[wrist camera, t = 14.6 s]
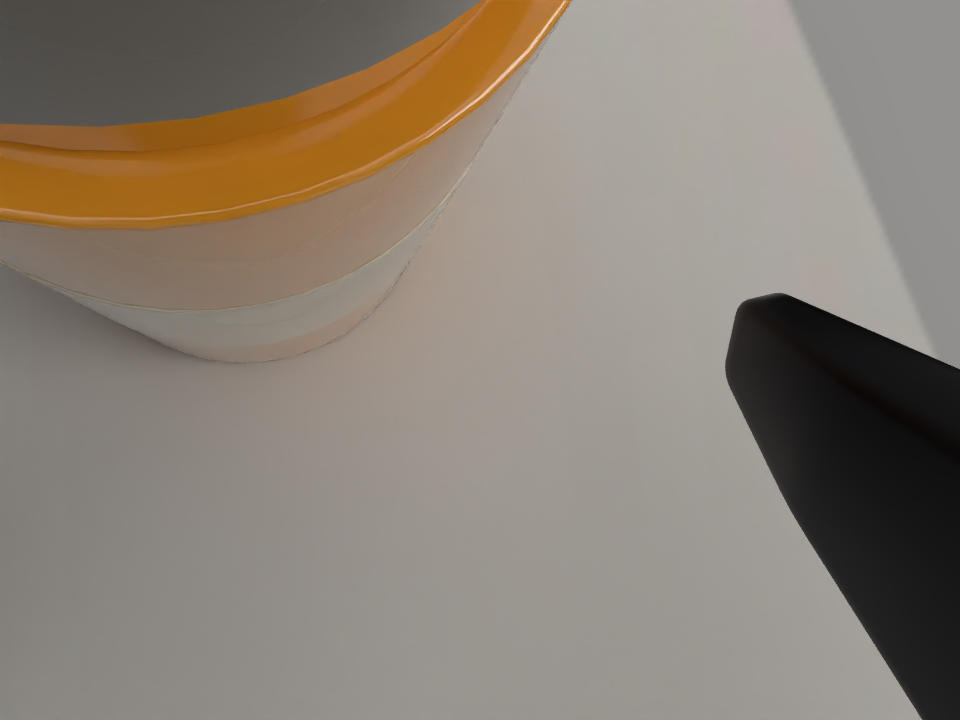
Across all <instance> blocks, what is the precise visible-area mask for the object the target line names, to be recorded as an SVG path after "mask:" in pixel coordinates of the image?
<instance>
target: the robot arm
mask: <svg viewBox="0 0 960 720" xmlns="http://www.w3.org/2000/svg"><path fill="white" fill-rule="evenodd" d="M725 371H726V377H727V381H728V384H729V386H730V389H731V391H732V393H733V395H734V397H735V399H736V401H737V403H738V405H739V407H740V409H741V411H742V413H743V415H744V418H745V420H746V422H747V424H748V426H749V428H750V430H751V432H752V434H753V436H754V438H755V440H756V442H757V444H758V446H759V448H760V450H761V452H762V454H763V456H764V459H765V461H766V463H767V465H768V467H769V469H770V471H771V473H772V475H773V477H774V479H775V481H776V483H777V485H778V487H779V489H780V491H781V493H782V495H783V497H784V499H785V501H786V503H787V505H788V506H789V508H790V510H791V512H792V514H793V515H794V517H795V519H796V520H797V522H798V524H799V525H800V527H801V529H802V530H803V532H804V534H805V535H806V537H807V538H808V540H809V542H810V543H811V545H812V546H813V548H814V549H815V551H816V553H817V554H818V556H819V557H820V559H821V560H822V562H823V564H824V565H825V567H826V568H827V570H828V572H829V573H830V575H831V576H832V578H833V579H834V581H835V583H836V584H837V586H838V587H839V589H840V591H841V592H842V594H843V595H844V597H845V598H846V600H847V602H848V603H849V605H850V606H851V608H852V609H853V611H854V613H855V614H856V616H857V617H858V619H859V621H860V622H861V624H862V625H863V627H864V628H865V630H866V632H867V633H868V635H869V636H870V638H871V640H872V641H873V643H874V644H875V646H876V647H877V649H878V651H879V652H880V654H881V655H882V657H883V658H884V660H885V662H886V663H887V665H888V666H889V668H890V670H891V671H892V673H893V674H894V676H895V677H896V679H897V681H898V682H899V684H900V685H901V687H902V689H903V690H904V692H905V693H906V695H907V696H908V698H909V700H910V701H911V703H912V704H913V706H914V707H915V709H916V711H917V712H918V714H919V715H920V717H921V719H922V720H960V369H958V368H955V367H953V366H951V365H948V364H946V363H944V362H942V361H939V360H937V359H935V358H932V357H930V356H928V355H925V354H923V353H921V352H919V351H916V350H914V349H912V348H909V347H907V346H905V345H902V344H900V343H898V342H895V341H893V340H891V339H889V338H886V337H884V336H882V335H879V334H877V333H875V332H872V331H870V330H868V329H866V328H863V327H861V326H859V325H856V324H854V323H852V322H849V321H847V320H845V319H842V318H840V317H838V316H836V315H833V314H831V313H829V312H826V311H824V310H822V309H819V308H817V307H815V306H813V305H810V304H808V303H806V302H803V301H801V300H799V299H796V298H794V297H792V296H789V295H787V294H783V293H774V294H769V295H765V296H761V297H756V298H752V299H748V300H746V301H744V302H742V303H741V305H740V306H739V308H738V309H737V312H736V315H735V320H734V325H733V329H732V334H731V338H730V343H729V348H728V352H727V357H726V363H725Z"/></svg>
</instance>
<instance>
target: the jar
mask: <svg viewBox="0 0 960 720" xmlns="http://www.w3.org/2000/svg"><path fill="white" fill-rule="evenodd" d="M571 2H572V0H0V263H2V264H4V265H6V266H8V267H10V268H12V269H14V270H15V271H17V272H19V273H21V274H23V275H25V276H27V277H29V278H31V279H33V280H34V281H36V282H38V283H40V284H42V285H44V286H46V287H48V288H50V289H52V290H54V291H56V292H58V293H60V294H62V295H64V296H66V297H68V298H70V299H72V300H74V301H76V302H77V303H79V304H81V305H83V306H85V307H87V308H89V309H91V310H93V311H95V312H97V313H99V314H101V315H103V316H105V317H107V318H109V319H111V320H113V321H115V322H117V323H119V324H120V325H123V326H126V327H128V328H131V329H133V330H135V331H137V332H139V333H141V334H143V335H145V336H147V337H149V338H151V339H153V340H154V341H156V342H158V343H160V344H162V345H164V346H167V347H169V348H172V349H175V350H177V351H180V352H183V353H185V354H188V355H192V356H197V357H201V358H205V359H209V360H215V361H225V362H234V363H246V362H265V361H272V360H279V359H285V358H289V357H292V356H296V355H299V354H303V353H306V352H309V351H311V350H314V349H316V348H318V347H321V346H323V345H325V344H328V343H330V342H331V341H333V340H335V339H336V338H338V337H340V336H342V335H343V334H345V333H347V332H348V331H350V330H351V329H352V328H354V327H355V326H356V325H357V324H359V323H360V322H361V321H362V320H364V319H365V318H366V317H367V316H368V315H369V314H370V313H371V312H372V311H373V310H374V309H375V308H376V307H377V306H378V305H379V304H380V303H381V302H382V301H383V300H384V298H385V297H386V296H387V294H388V293H389V292H390V290H391V289H392V288H393V286H394V285H395V283H396V282H397V280H398V279H399V277H400V276H401V274H402V272H403V271H404V269H405V268H406V266H407V264H408V263H409V261H410V260H411V258H412V257H413V256H414V254H415V253H416V252H417V250H418V249H419V247H420V246H421V245H422V243H423V242H424V240H425V238H426V237H427V235H428V234H429V232H430V230H431V229H432V227H433V226H434V224H435V223H436V221H437V219H438V218H439V216H440V215H441V213H442V212H443V210H444V208H445V207H446V205H447V204H448V202H449V201H450V199H451V197H452V196H453V194H454V193H455V191H456V190H457V188H458V186H459V185H460V183H461V182H462V180H463V179H464V177H465V175H466V174H467V172H468V171H469V169H470V167H471V165H472V163H473V161H474V160H475V158H476V156H477V154H478V152H479V151H480V149H481V147H482V145H483V143H484V142H485V140H486V138H487V137H488V135H489V133H490V132H491V130H492V129H493V127H494V125H495V124H496V122H497V121H498V119H499V117H500V116H501V114H502V113H503V111H504V109H505V108H506V106H507V105H508V103H509V101H510V100H511V98H512V97H513V95H514V93H515V92H516V90H517V89H518V87H519V85H520V84H521V82H522V81H523V79H524V77H525V76H526V74H527V73H528V71H529V69H530V68H531V66H532V65H533V63H534V61H535V60H536V58H537V57H538V55H539V53H540V52H541V50H542V49H543V47H544V45H545V44H546V42H547V41H548V39H549V37H550V36H551V34H552V33H553V31H554V29H555V28H556V26H557V25H558V23H559V21H560V20H561V18H562V17H563V15H564V13H565V12H566V10H567V9H568V7H569V5H570V3H571Z"/></svg>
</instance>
